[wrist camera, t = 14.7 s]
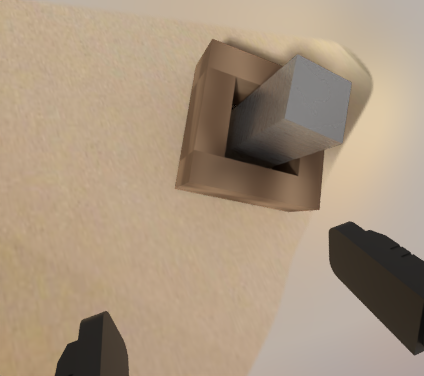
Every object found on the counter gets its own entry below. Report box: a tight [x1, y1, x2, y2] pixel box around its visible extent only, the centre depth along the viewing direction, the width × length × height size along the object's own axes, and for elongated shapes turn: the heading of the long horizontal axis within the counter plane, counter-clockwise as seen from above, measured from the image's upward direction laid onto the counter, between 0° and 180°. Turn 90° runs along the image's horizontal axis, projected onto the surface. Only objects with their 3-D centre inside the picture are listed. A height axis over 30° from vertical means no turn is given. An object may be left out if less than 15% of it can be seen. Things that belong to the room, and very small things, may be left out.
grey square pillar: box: [225, 54, 352, 168], centre depth 24 cm, size 4×4×11 cm
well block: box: [175, 39, 324, 212], centre depth 27 cm, size 12×12×4 cm
